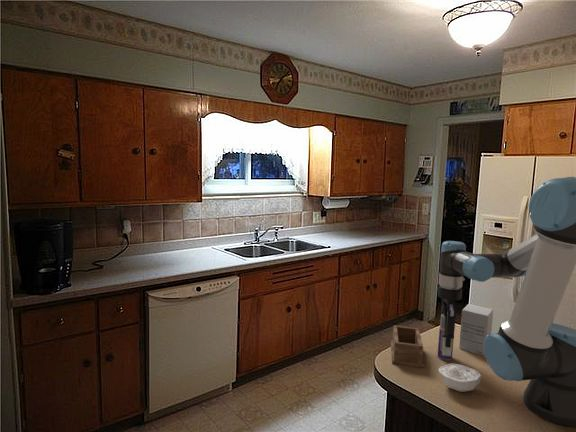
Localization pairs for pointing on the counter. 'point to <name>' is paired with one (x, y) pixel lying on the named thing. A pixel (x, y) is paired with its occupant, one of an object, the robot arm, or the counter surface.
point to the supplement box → (475, 328)
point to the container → (440, 344)
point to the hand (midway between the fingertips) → (445, 351)
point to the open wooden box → (407, 346)
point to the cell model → (460, 377)
